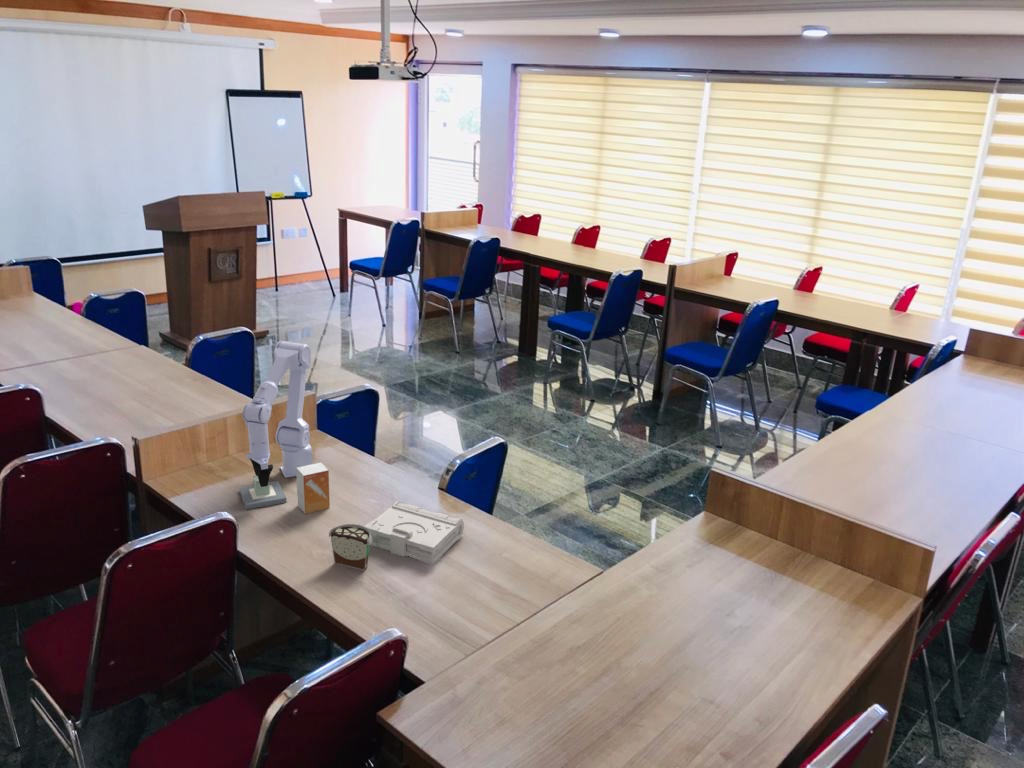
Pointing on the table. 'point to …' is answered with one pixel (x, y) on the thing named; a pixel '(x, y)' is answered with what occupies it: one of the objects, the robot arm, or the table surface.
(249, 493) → the slate base
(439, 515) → the book
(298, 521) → the table surface
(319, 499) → the small box
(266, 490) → the sage block
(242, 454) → the table surface
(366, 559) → the food container
